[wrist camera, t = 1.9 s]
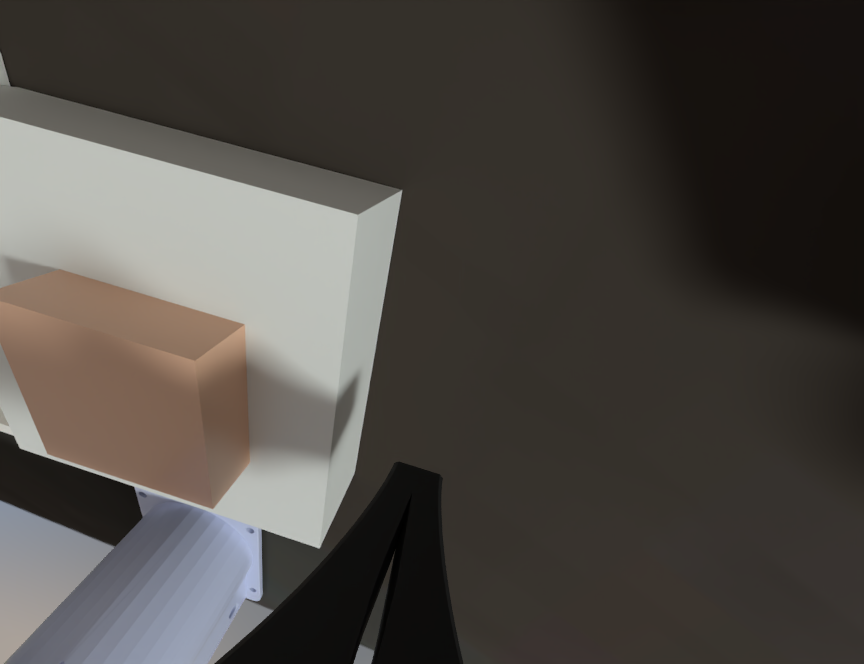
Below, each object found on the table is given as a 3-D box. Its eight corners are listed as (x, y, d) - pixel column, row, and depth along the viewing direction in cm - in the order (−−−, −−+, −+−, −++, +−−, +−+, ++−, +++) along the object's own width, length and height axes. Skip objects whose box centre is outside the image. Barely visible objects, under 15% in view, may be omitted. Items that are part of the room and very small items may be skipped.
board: (354, 473, 19) (319, 548, 16) (104, 393, 20) (19, 448, 17) (402, 189, 12) (358, 215, 9) (17, 87, 13) (-157, 73, 10)
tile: (250, 462, 14) (213, 509, 12) (103, 415, 15) (47, 454, 13) (244, 324, 11) (194, 360, 9) (59, 269, 12) (-21, 294, 10)
